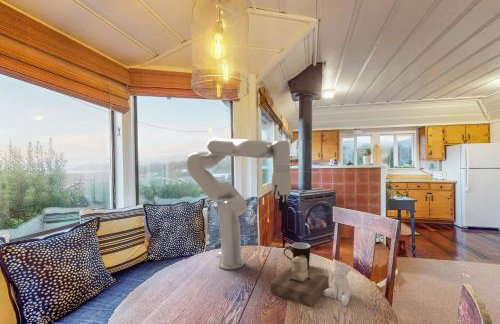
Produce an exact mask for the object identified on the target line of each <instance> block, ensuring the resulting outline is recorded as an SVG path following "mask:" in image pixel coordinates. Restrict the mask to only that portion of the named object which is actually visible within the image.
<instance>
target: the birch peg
mask: <svg viewBox="0 0 500 324" xmlns="http://www.w3.org/2000/svg"><path fill="white" fill-rule="evenodd" d="M291 259H292V260H290V263H291V264H290V265H291V266H290V268H292V282H295V283H299V284H302V285H305V284H306V283H307V282H308V272H309V271H308V270H309V269H307V259H306V258H302V257H297V256H296V257H295V258H291Z"/></svg>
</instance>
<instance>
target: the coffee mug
mask: <svg viewBox="0 0 500 324" xmlns="http://www.w3.org/2000/svg"><path fill="white" fill-rule="evenodd" d="M286 250H288V251H290V252H291V253H292V257H293V258H295V257H296V256H297V257H302V258H306V259H307V269H308V270H309V268H310V259H311V258H310V257H311V245H310V243H306V242H294V243H292V244H291V248H290V247H286V248H284V249H283V255H284V256H285V257H286V258H287V259H289V260H290V261H291V260H292V259H293V258H291V257H289V256H288V255H287V254H286V253H285V252H286Z"/></svg>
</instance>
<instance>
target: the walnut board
mask: <svg viewBox="0 0 500 324" xmlns="http://www.w3.org/2000/svg"><path fill="white" fill-rule="evenodd" d="M329 278H330V277H329V276H327V275H324V274H321V273H320V274H319V273H316V272H311V271H308V282H307V283H306V284H305V285H302V284H299V283H295V282H292V268H291V267H289V268H288V269H287V270H285V271H283V273H281V274H279V276H277V277H276V278H274V279H273V280H272V281H270V294H272V295H276V296H278V297H281V298H285V299H286V300H290V301H293V302H295V303H299V304H302V305H305V306H307V307H310V308H312V307H313V306H314V305H316V303H317V302H318V300H319V299H320V298H321V297H323V296H324V295H323V290H325V289H327V288H330V286H329V283H330V282H329V281H330V280H329Z"/></svg>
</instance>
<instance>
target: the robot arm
mask: <svg viewBox="0 0 500 324" xmlns="http://www.w3.org/2000/svg"><path fill="white" fill-rule="evenodd" d="M207 150H208V151H195V152H192V153H190V154H189V156H188V157H187V160H186V167H187V171H188V173H189V176H191V178H192V179H193V181H195V183H197V184H198V186H199V187H200V188H201V190H202V191H203V192H204V193H205V195H206V196H207V197H208V198H209V199H210V201H212V202H214V203H215V202H216V203H217V202H220V203H219V205H218V207H217V214H218V219H219V227H220V229H219V230H220V251H219V252H218V254H216V258H217V259H219V261H218V264H217V265H218V267H219V268H220V269H223V270H226V271H227V270H228V271H229V270H237V269H240V268H242V267H244V266H245V264H246V263H245V260H244V259H243V258H242V243H241V241H242V239H241V237H242V236H241V223H240V220H239V217H240V216H241V215H243V214H244V213H246V211H247V209H248V205H247V202H246V200H245V198H244V197H243V195H242V194H241V193H240V192H239V191H238V190H237V189H236V188H235V186H234V185H233V184H232V183H230V182H228V181H219V180H218V179H217V178H216V177H215V176H214V175H213V174H212V173H211V172H210V171H209V170H208V169H210V168H214V167H215V166H217V165H218V164H219V163H221V162H222V160H224V159H225V158H226V157H227V156H228V157H246V158H254V159H272V170H273V171H272V176H271V195H272V196H274V198H275V199H277V202H278V211H280V212H287V211H288V198H289V197H290V194H291V193H292V179H291V156H290V155H291V154H290V153H291V149H290V142H289V141H288V140H276V141H273V142H269V141H264V140H257V139H256V140H255V139H254V140H253V139H240V138H233V137H232V138H231V137H230V138H229V137H212V138H210V139H209V140H208V142H207Z"/></svg>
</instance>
